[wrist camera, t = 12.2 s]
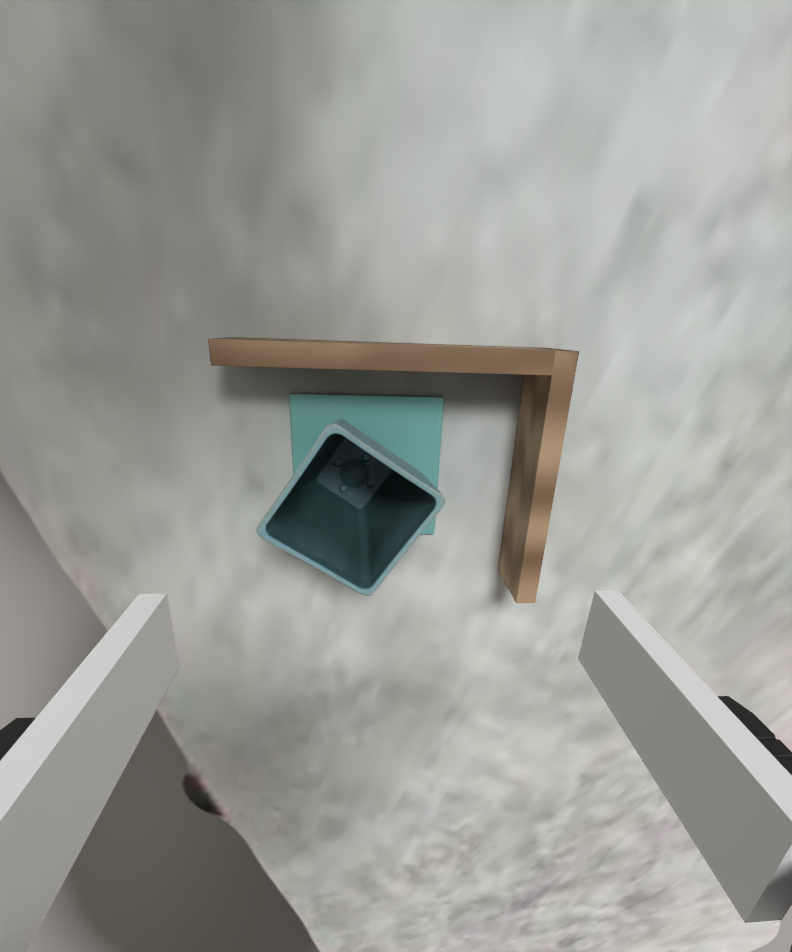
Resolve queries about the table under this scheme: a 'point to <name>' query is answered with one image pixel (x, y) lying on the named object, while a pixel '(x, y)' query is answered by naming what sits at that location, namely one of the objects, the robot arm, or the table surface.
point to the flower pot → (351, 509)
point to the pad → (374, 427)
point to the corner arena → (541, 368)
